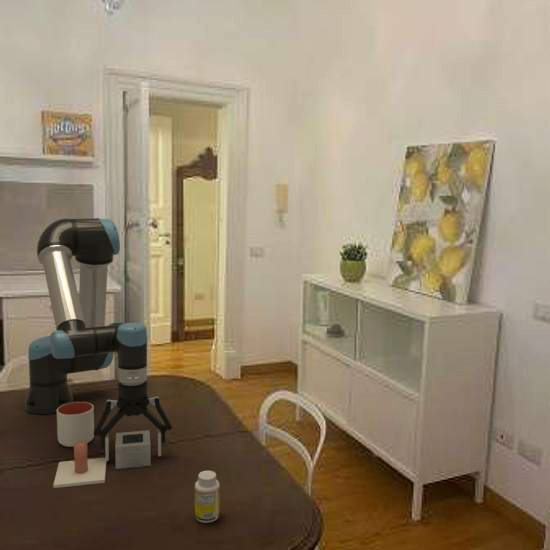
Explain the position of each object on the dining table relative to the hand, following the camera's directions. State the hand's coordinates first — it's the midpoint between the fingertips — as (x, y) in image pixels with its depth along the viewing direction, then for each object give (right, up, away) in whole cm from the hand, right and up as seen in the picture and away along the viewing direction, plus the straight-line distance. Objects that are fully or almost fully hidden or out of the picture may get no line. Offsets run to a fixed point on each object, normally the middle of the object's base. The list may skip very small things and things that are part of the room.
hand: (133, 456), depth 150 cm
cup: (-20, +1, +11) cm, 22 cm away
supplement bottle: (+23, -5, -25) cm, 35 cm away
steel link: (0, -1, 0) cm, 1 cm away
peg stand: (-12, -2, -8) cm, 14 cm away
